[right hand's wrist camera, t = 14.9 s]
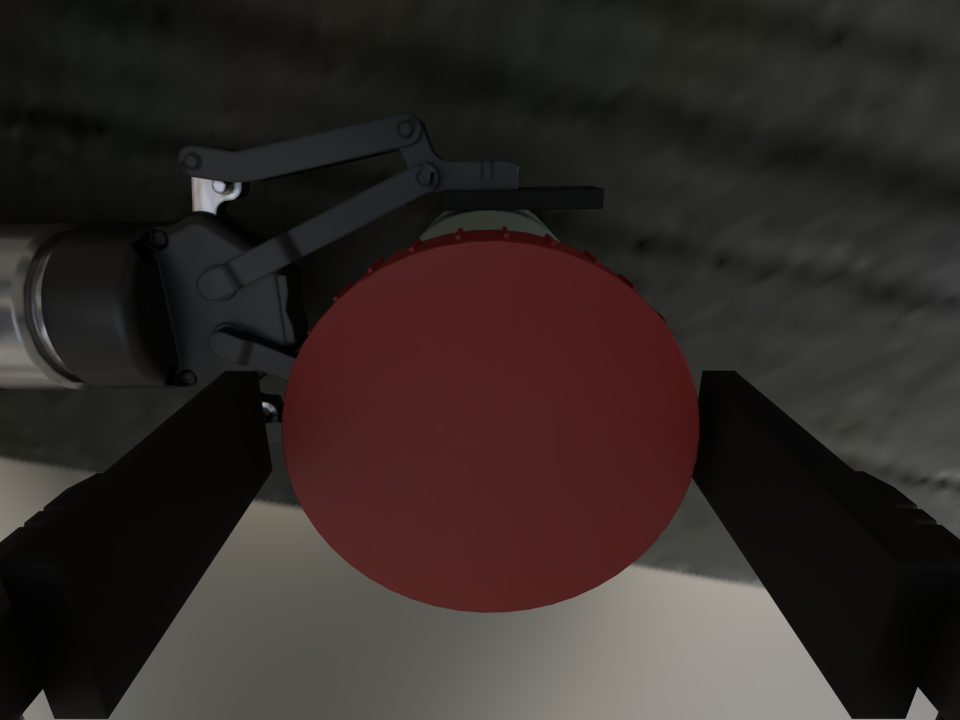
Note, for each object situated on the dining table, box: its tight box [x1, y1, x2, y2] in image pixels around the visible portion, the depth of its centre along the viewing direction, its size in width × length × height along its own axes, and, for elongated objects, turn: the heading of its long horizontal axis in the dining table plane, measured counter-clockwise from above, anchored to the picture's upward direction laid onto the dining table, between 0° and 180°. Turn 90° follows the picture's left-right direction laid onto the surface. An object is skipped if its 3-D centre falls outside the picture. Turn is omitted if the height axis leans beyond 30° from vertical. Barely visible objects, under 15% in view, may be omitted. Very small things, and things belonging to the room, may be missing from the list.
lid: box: [282, 226, 700, 613], centre depth 13 cm, size 9×9×2 cm
